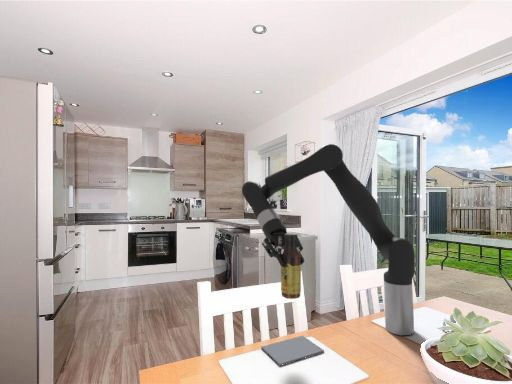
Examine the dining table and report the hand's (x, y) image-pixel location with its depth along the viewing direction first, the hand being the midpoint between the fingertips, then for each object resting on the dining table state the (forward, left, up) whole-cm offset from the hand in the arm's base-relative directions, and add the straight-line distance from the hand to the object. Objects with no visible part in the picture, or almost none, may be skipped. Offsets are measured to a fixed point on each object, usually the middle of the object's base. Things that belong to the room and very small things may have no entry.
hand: (294, 264), depth 86 cm
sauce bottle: (-1, -1, -11) cm, 11 cm away
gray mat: (-1, -1, -27) cm, 27 cm away
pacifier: (-38, +45, -27) cm, 65 cm away
